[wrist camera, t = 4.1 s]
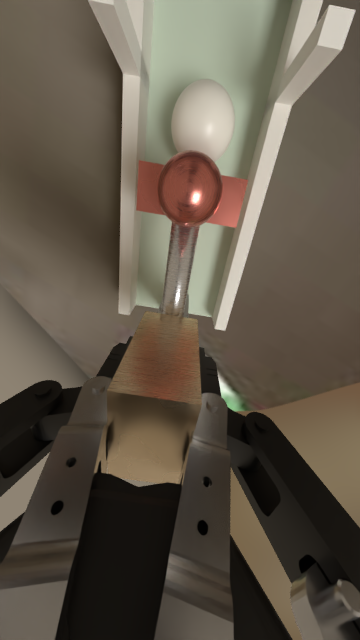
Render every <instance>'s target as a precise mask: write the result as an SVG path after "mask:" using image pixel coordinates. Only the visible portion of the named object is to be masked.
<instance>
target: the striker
mask: <svg viewBox="0 0 360 640" xmlns="http://www.w3.org/2000/svg"><path fill="white" fill-rule="evenodd" d="M247 184H248V180H246V179H241V178H235V177H230V176H224V175H221V174H220V171H219V169H218V167H217V165H216V164H215V162H214V161H213V160H212V159H211V158H210V157H209V156H207V155H206V154H204V153H202V152H200V151H196V150H186V151H182V152H180V153H177V154H176V155H174V156H173V157H172V158H170V159H169V160H168V161H167V163H166V164H165V165H163V164H157V163H152V162H146V161H141V160H139V166H138V186H137V206H136V210H137V211H143V212H148V213H154V214H160V215H166V217H167V218H168V219H169V220H171V221H172V225H171V233H170V241H169V249H168V257H167V265H166V274H165V282H164V290H163V298H162V306H161V313H155V312H149V311H146V312H145V314H144V316H143V318H142V320H141V322H140V324H139V326H138V328H137V330H136V332H135V334H134V336H133V338H132V340H131V342H130V344H129V346H128V348H127V350H126V352H125V355H124V357H123V359H122V361H121V363H120V365H119V367H118V369H117V371H116V373H115V375H114V377H113V379H112V381H111V383H110V385H109V387H108V389H107V418H108V429H107V441H108V474H112V475H114V476H116V477H118V478H124V479H131V480H138V481H146V482H153V483H159V484H160V483H166V482H169V483H176V484H178V481H179V477H180V472H181V468H182V464H183V463H184V461H185V457H186V453H187V449H188V445H189V440H190V436H191V432H192V431H195V427H196V424H197V420H198V417H199V413H200V410H201V407H202V397H201V378H200V359H199V340H198V322H197V319H192V318H185V317H183V315H184V310H185V304H186V299H187V293H188V288H189V282H190V277H191V271H192V266H193V260H194V255H195V249H196V244H197V238H198V233H199V227H200V225H202V224H204V223H205V222H206V223H212V224H217V225H223V226H229V227H235V228H236V227H237V223H238V219H239V215H240V211H241V207H242V203H243V199H244V195H245V191H246V188H247Z"/></svg>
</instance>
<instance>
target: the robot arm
mask: <svg viewBox="0 0 360 640" xmlns="http://www.w3.org/2000/svg"><path fill="white" fill-rule="evenodd" d="M132 338H133V336H130V337H129V339H128V341H127V343H126V344H124V343H119V344H118V345H116V346H115V347H113V349H112V351H111V352H110V354H109V356H108V357H107V359H106V361H105V362H104V364H103V366H102V367H101V369H100V371H99V372H98V374H97V376H96V377H93V378H91V379H89V380H87V381H86V382H85V383H84V384H83V386H82V387H77V388H67V389H62V386H61V385H60V383H58V382H56V381H52V380H46V381H41V382H38V383H36V384H34V385H32V386H30V387H28V388H27V389H25V390H23V391H22V392H20V393H18V394H16V395H15V396H13V397H12V398H10V399H8V400H6V401H5V402H3V403H1V404H0V497H1V496H2V495H3V494H4V493H5V492H6V491H7V490H8V489H10V488H11V487H12V486H13V485H14V484H15V483H16V482H17V481H18V480H19V479H20V478H22V477H23V476H24V475H25V474H26V473H27V472H28V471H29V470H30V469H32V468H33V467H34V466H35V465H36V464H37V463H38V462H39V461H40V460H41V459H43V458H44V457H45V456H46V455H47V454H48V453H49V452H50V453H49V456H48V458H47V461H46V463H45V466H44V468H43V470H42V473H41V475H40V477H39V480H38V482H37V485H36V487H35V489H34V492H33V494H32V496H31V499H30V502H29V504H28V506H27V509H26V511H25V512H24V513H23V514H22V515H20V516H19V517H18V518H17V519H15V520H14V521H13V522H12V523H10V524H9V525H8V526H7V527H6V528H4V529H3V530H2V531H1V532H0V640H292V638H291V636H290V634H289V633H288V631H287V629H286V628H285V626H284V624H283V623H282V621H281V619H280V618H279V616H278V614H277V613H276V611H275V609H274V607H273V606H272V604H271V602H270V601H269V599H268V597H267V596H266V594H265V592H264V591H263V589H262V587H261V585H260V584H259V582H258V581H257V579H256V577H255V575H254V574H253V572H252V570H251V569H250V567H249V565H248V564H247V562H246V560H245V558H244V557H243V555H242V553H241V552H240V550H239V548H238V547H237V545H236V543H235V542H234V540H233V538H232V536H231V535H230V468H232V470H233V472H234V474H235V475H236V477H237V479H238V481H239V483H240V485H241V487H242V489H243V491H244V493H245V495H246V497H247V499H248V500H249V502H250V504H251V506H252V508H253V510H254V512H255V514H256V516H257V518H258V520H259V522H260V524H261V526H262V527H263V529H264V531H265V533H266V535H267V537H268V539H269V541H270V543H271V545H272V546H273V548H274V550H275V552H276V554H277V556H278V558H279V560H280V562H281V564H282V566H283V567H284V570H285V572H286V574H287V575H288V577H289V579H290V581H291V583H292V586H291V591H290V599H291V606H292V611H293V614H294V617H295V621H296V624H297V626H298V628H299V630H300V633H301V635H302V639H303V640H360V528H359V527H358V525H357V524H356V523H355V522H354V520H353V519H352V518H351V517H350V516H349V514H348V513H347V512H346V511H345V510H344V508H343V507H342V506H341V504H340V503H339V502H338V501H337V500H336V498H335V497H334V496H333V495H332V493H331V492H330V491H329V490H328V489H327V487H326V486H325V485H324V484H323V482H322V481H321V480H320V479H319V478H318V476H317V475H316V474H315V473H314V471H313V470H312V469H311V468H310V467H309V465H308V464H307V463H306V462H305V460H304V459H303V458H302V457H301V455H299V453H298V452H297V451H296V449H295V448H294V447H293V446H292V445H291V443H290V442H289V441H288V440H287V438H286V437H285V436H284V435H283V433H282V432H281V431H280V430H279V429H278V427H277V426H276V425H275V424H274V422H273V421H272V420H271V419H270V418H268V417H267V416H266V415H264V414H261V413H258V412H251V413H249V414H248V415H247V416H246V417H245V416H243V415H241V414H238V413H236V412H234V411H232V410H231V409H230V408H228V407H227V404H226V402H225V401H224V399H223V398H221V392H220V386H219V380H218V374H217V368H216V363H215V362H214V360H213V359H212V357H205V352H204V348H201V347H199V359H200V378H201V397H202V407H201V410H200V413H199V417H198V420H197V424H196V427H195V431H192V432H191V436H190V440H189V445H188V449H187V453H186V457H185V461H184V463H183V464H182V468H181V472H180V477H179V481H178V484H176V483H169V482H166V483H160V484H154V485H148V486H142V487H137V486H134V485H132V484H130V483H128V482H126V481H124V480H122V479H120V478H118V477H116V476H114V475H112V474H106V472H107V464H108V441H107V429H108V418H107V389H108V387H109V385H110V383H111V381H112V379H113V377H114V375H115V373H116V371H117V369H118V367H119V365H120V363H121V361H122V359H123V357H124V355H125V352H126V350H127V348H128V346H129V344H130V342H131V340H132Z"/></svg>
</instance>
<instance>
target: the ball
mask: <svg viewBox="0 0 360 640" xmlns="http://www.w3.org/2000/svg"><path fill="white" fill-rule="evenodd" d="M234 127H235V113H234V107H233V103H232V100H231V98H230V96H229V94H228V92H227V91H226V89H225V88H224V87H223V86H222V85H221V84H219V83H218V82H216V81H214V80H211V79H200V80H197V81H195V82H193V83H191V84H190V85H188V86H187V87H186V88H185V89H184V90H183V92H182V93H181V94H180V96H179V98H178V100H177V102H176V104H175V107H174V110H173V114H172V120H171V131H172V138H173V142H174V145H175V147H176V149H177V151H178V153H180V152H182V151H186V150H196V151H200V152H202V153H204V154H206V155H207V156H209V157H210V158H211V159H212V160H213V161H214V162H216V161H217V160H218V159H219V158H220V157H221V156H222V155H223V154H224V153H225V151H226V150H227V148H228V146H229V144H230V142H231V139H232V136H233V132H234Z"/></svg>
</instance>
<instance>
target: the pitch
mask: <svg viewBox="0 0 360 640" xmlns="http://www.w3.org/2000/svg"><path fill="white" fill-rule="evenodd" d="M88 2H89V4H90V6H91V8H92V10H93V12H94V14H95V16H96V19H97V21H98V23H99V25H100V27H101V29H102V31H103V33H104V35H105V37H106V39H107V41H108V43H109V46H110V48H111V50H112V52H113V54H114V56H115V58H116V60H117V62H118V64H119V66H120V68H121V70H122V73H123V104H122V158H121V211H120V265H119V314H125V315H130V313H131V312H132V310H133V309H134V307H135V305H141V306H147V307H153V308H159V309H158V312H157V313H161V306H162V298H163V290H164V282H165V274H166V265H167V257H168V249H169V241H170V233H171V225H172V221H171V220H169V219H168V218H167V217H166V215H160V214H154V213H148V212H143V211H137V210H136V206H137V186H138V166H139V160H141V161H146V162H152V163H157V164H163V165H165V164H166V163H167V161H168V160H169V159H170V158H172V157H173V156H174V155H176V154H177V153H178V151H177V149H176V147H175V145H174V142H173V138H172V131H171V120H172V114H173V110H174V107H175V104H176V102H177V100H178V98H179V96H180V94H181V93H182V92H183V90H184V89H185V88H186V87H187V86H188V85H190V84H191V83H193V82H195V81H197V80H200V79H211V80H214V81H216V82H218V83H219V84H221V85H222V86H223V87H224V88H225V89H226V91H227V92H228V94H229V96H230V98H231V100H232V103H233V107H234V113H235V127H234V132H233V136H232V139H231V142H230V144H229V146H228V148H227V150H226V151H225V153H224V154H223V155H222V156H221V157H220V158H219V159H218V160H217V161H216V162H215V164H216V165H217V167H218V169H219V171H220V174H221V175H224V176H230V177H235V178H241V179H246V180H248V184H247V188H246V191H245V195H244V199H243V203H242V207H241V211H240V215H239V219H238V223H237V227H236V228H235V227H229V226H223V225H217V224H212V223H206V222H205V223H204V224H202V225H200V227H199V233H198V238H197V244H196V249H195V255H194V260H193V266H192V271H191V277H190V282H189V288H188V293H187V299H186V304H185V310H184V315H183V317H185V318H188V313H190V314H196V315H202V316H208V317H212V319H213V323H214V328H215V329H218V330H224V331H225V329H226V326H227V323H228V319H229V316H230V313H231V309H232V306H233V302H234V299H235V296H236V292H237V289H238V286H239V282H240V279H241V275H242V272H243V269H244V265H245V262H246V259H247V255H248V252H249V248H250V245H251V242H252V238H253V235H254V232H255V228H256V225H257V221H258V218H259V215H260V211H261V208H262V205H263V201H264V198H265V194H266V191H267V188H268V184H269V181H270V178H271V174H272V171H273V167H274V164H275V161H276V157H277V154H278V151H279V147H280V144H281V140H282V137H283V134H284V130H285V127H286V124H287V120H288V117H289V113H290V110H291V107H292V105H293V104H294V103H295V102H296V100H297V99H298V98H299V97H300V96H301V95H302V94H303V93H304V91H305V90H306V89H307V88H308V87H309V86H310V85H311V84H312V83H313V81H314V80H315V79H316V78H317V77H318V76H319V75H320V74H321V73H322V71H323V70H324V69H325V68H326V67H327V66H328V65H329V64H330V63H331V61H332V60H333V59H334V58H335V57H336V56H337V55H338V54H339V53H340V51H341V50H342V48H343V45H344V42H345V39H346V36H347V34H348V31H349V28H350V25H351V22H352V19H353V16H354V13H355V10H353V9H348V8H343V7H338V6H333V5H329V6H328V8H327V9H326V11H325V12H324V14H323V15H322V17H321V19H320V20H319V22H318V23H317V25H316V22H317V19H318V16H319V12H320V9H321V5H322V2H323V0H88Z"/></svg>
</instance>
